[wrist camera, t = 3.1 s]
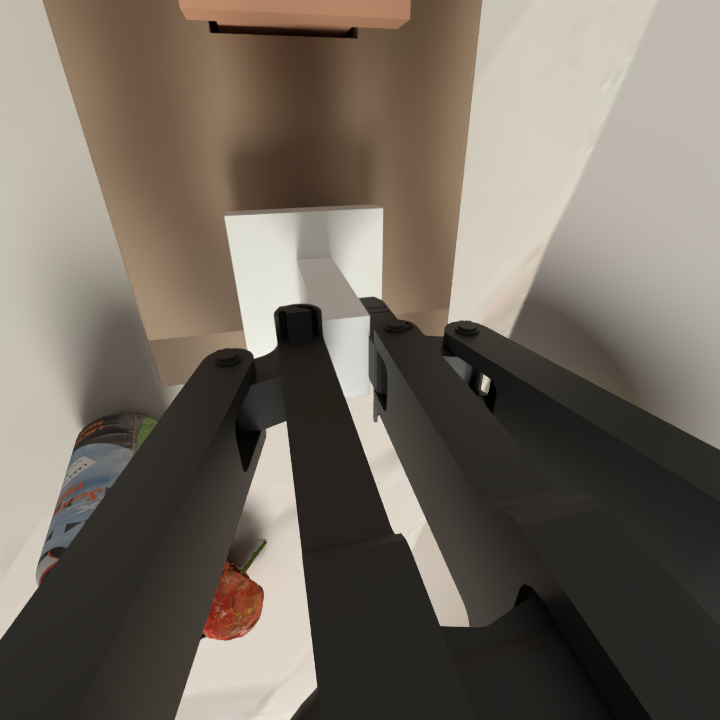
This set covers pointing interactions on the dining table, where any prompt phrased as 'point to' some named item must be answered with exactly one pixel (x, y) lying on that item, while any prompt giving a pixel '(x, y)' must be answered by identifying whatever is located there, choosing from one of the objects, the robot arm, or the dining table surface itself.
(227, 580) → the red round fruit
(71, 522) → the beverage can
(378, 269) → the white block
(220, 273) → the brown boxy piece
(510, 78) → the dining table surface
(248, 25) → the terracotta key
